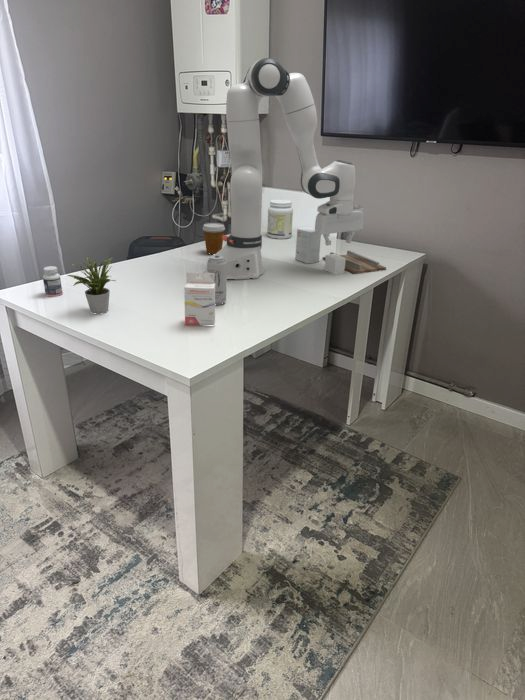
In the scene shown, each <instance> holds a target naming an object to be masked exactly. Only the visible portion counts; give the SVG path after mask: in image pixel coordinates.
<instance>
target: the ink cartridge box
mask: <svg viewBox="0 0 525 700" xmlns="http://www.w3.org/2000/svg"><path fill="white" fill-rule="evenodd" d="M185 274H186V275H185V276H186V277H185V278H186V282H185V285H184V325H214V324H215V322H216V305H215V282H214V281H215V279H214V277H215V274H214V273H205V272H195V271H193V272H192V271H187V272H185ZM200 276H201V277H204V278H201V277H200ZM198 277H200V278H198ZM215 325H216V324H215ZM215 325H214V326H215Z"/></svg>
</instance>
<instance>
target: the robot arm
mask: <svg viewBox="0 0 525 700" xmlns="http://www.w3.org/2000/svg"><path fill="white" fill-rule="evenodd" d="M245 74H246V75H245V77H244V80H243V82H242V83H236V84H234V85H232V86H231V87H229V88H228V90H227V92H226V103H225V104H226V105H225V116H226V119H225V120H226V130H227V132H226V133H227V140H228V141H227V144H228V151H229V158H230V159H229V160H230V166H231V167H230V168H231V177H230V183H229V184H230V211H231V212H230V213H231V214H230V215H231V217H230V219H231V221H230V222H231V224H230V225H231V228H230V234H229V235H226V234H224V235H223V236H222V239H223V242H226V244H225V246H222V249H221V250H220V251H218V252H217V253H216V254H215V255H222V256H224V257H225V258H224V259H225V260H226V281H228V280H227V279H235V280H250V278H253V279H258V278H260V276H261V275H263V274H264V273H265V270H264V267H263V261H262V247H263V240H262V239H263V235H262V214H263V213H262V209H263V208H262V207H263V206H262V205H263V179H264V177H263V161H262V150H261V149H262V148H261V132H260V131H261V130H260V129H261V127H260V115H259V106H260V102H261V100H262V98H268V97H273V96H274V97H275V98H276V99H277V100H278V102H279V105H280V106H281V110H282V114H283V118H284V121H285V123H286V127H287V129H288V132H289V133H290V136H291V138H292V139H293V142H294V144H295V147H296V150H297V155H298V159H299V162H300V167H301V174H300V186H301V189H302V191H304V193H306V194H307V195H309V196H311V197H313V198H315V199H318V200H319V199H321V200H322V199H326V198H329V201H326V202H325V203H322V204H320V205H318V206H317V210H316V211H317V212H318V213H317V215H316V216H315V223H314V224H315V225H314V229H315V231H316V233H317V234H320V235H321V236H323V238H324V241H325V243H324V245H326V246H331V245H332V240H331V239H329V237H330V235H332V234H339V233H348V236H347V237H345V243H347V244H350V243H352V239H353V237H354V236H355V234H356V231H361V230H362V229H363V228H364V207H363V206H362V205H360V204H358V205H354V199H355V198H354V197H355V196H354V190H355V187H356V167H355V166H354V164H353V163H352V162H350V161H346V160H339V159H337V160H334V161H333V162H331V163H330V164H329V165H327V166H325V167H323V168H322V167H321V166H320V165H319V161H318V157H317V153H316V150H315V149H316V148H315V145H314V136H315V132H316V130H317V127H318V114H317V112H318V111H317V109H316V108H317V107H316V103H315V99H314V96H313V94H312V91H311V87H310V85H309V83H308V81H307V79H306V77H305V76H304V75H303V74H302V73H299V72H291V73H289V72H288V71H287V70H286V69H285V68H284V67H283V65H282V64H280V62H278V60H276V59H274V58H270V57H265V58H264V57H263V58H260V59H257V60H256V61H254V62H253V63H252V64H251V66H250V67H249V68H248V70H247V73H245ZM204 269H205V270H204V273H207V267H205V268H204Z"/></svg>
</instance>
